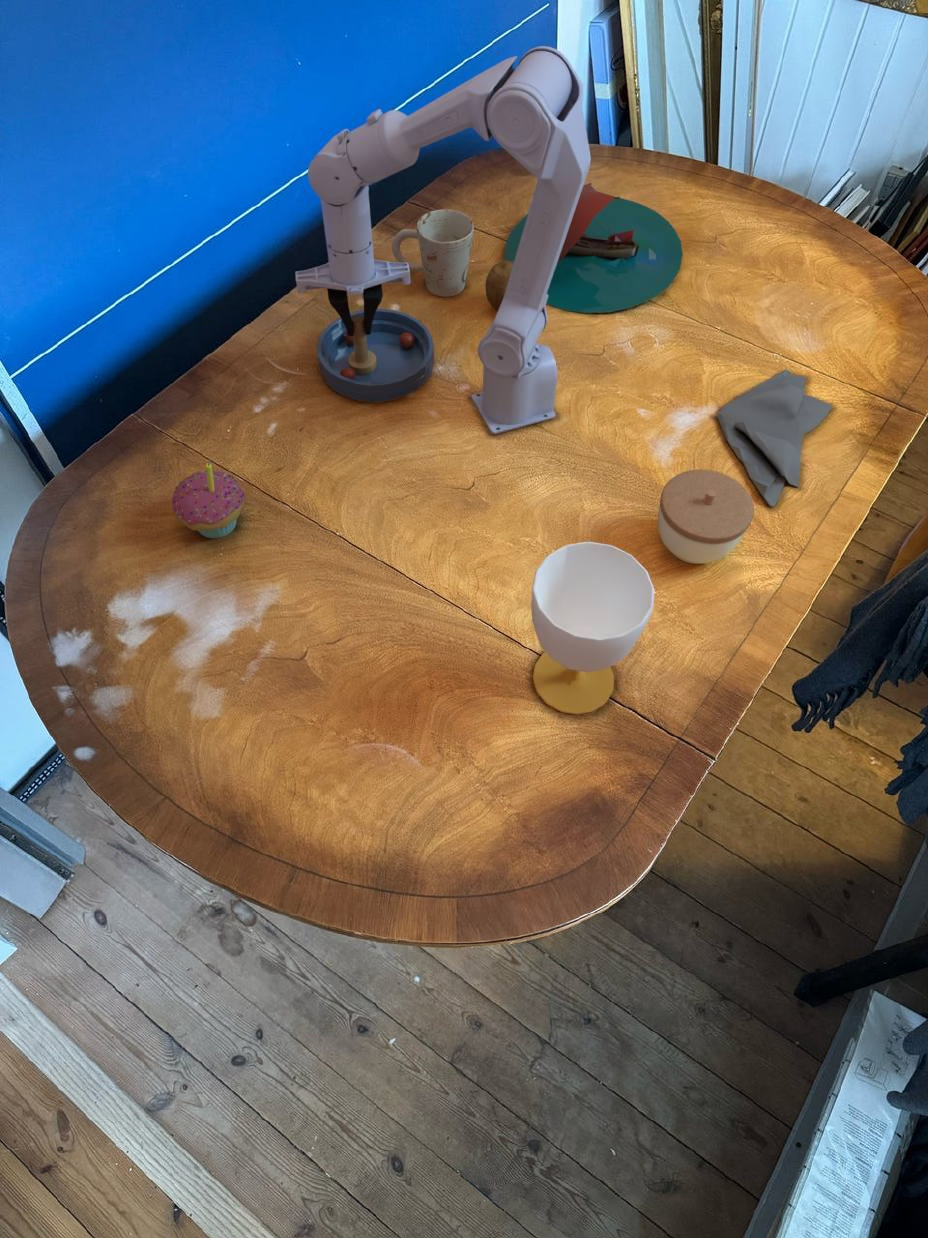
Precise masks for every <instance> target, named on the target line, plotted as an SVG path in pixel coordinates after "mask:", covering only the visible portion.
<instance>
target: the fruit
mask: <svg viewBox="0 0 928 1238" xmlns="http://www.w3.org/2000/svg"><path fill="white" fill-rule="evenodd" d="M513 264H514V262H513V261H505V260H501V261H498V262H496V263H494V265H493V266H492V267H491V269H490V271H489V272H488V274H487V275H486V279H485V297H486V300H487V302H488V303H489V305H490V306H491V308H492V309H493V310H495V311H496V312H498V310H499V308H500V305H501V303H502V301H503V298H504V295H505V292H506V288H507V285H508V281H509V278H510V274H511V271H512V267H513Z"/></svg>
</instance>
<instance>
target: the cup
mask: <svg viewBox="0 0 928 1238" xmlns="http://www.w3.org/2000/svg"><path fill="white" fill-rule="evenodd" d="M655 591H656V589H655V587H654V583H653V581H652V580H651V577H650V574H649V572H648V570H647V569H646V568H645V567H644V566H643V565H642V564H641V563H640V562H639V561H638V559H636V558H635V557H634V556H633V555H632V554H630V553H629V552H627V551H624V550H622V549H620V548H618V547H616V546H615V545H612V544H607V543H601V542H594V541H582V542H577V543H571V544H565V545H563V546H561V547H559V548H558V549H556V550H554V551H552V552H551V553H549V554H547V555H546V556H545V558H544V559H543V560H542V562H541V563H540V564H539V566H537V568H536V569H535V572H534V576H533V582H532V587H531V599H530V601H531V602H530V609H531V621H532V625H533V628H534V631H535V634H536V637H537V640H538V641H537V642H538V643H539V646H540V647H541V649H542V650H543V651H544V652H542V653H541V655H540V657H539V658H538V659H537V661H536V662H535V663H534V668H533V674H532V682H533V684H534V688H535V691H536V693H537V695H538V696H539V697H540V698H541V699H542V700H543V702H544V703H545V705H547V706H549V707H551V708H552V709H554V710H555V711H558V712H560V713H562V714H563V713H564V714H570V715H583V714H588V713H594V712H595V711H596V710H598V709H599V708H601V707H602V706H604V705H605V704H606V703H607V702H608V700H609V698H610V697H611V695H612V694H613V691H614V686H615V685H614V684H615V675H614V673H613V669H612V667H614V666H615V665H616V664H618V663H620V662H621V661H622V660H624V659H625V658H626V657H627V656H628V655H629V654H630V653H631V651H632V650H633V648H634V646H635V645H636V643H637V642H638V640H639V638H640V637H641V635H642V633H643V631H644V630H645V628H646V627H647V625H648V623H649V621H650V618H651V616H652V613H653V611H654V603H655Z"/></svg>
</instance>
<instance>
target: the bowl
mask: <svg viewBox="0 0 928 1238" xmlns="http://www.w3.org/2000/svg"><path fill="white" fill-rule="evenodd" d="M356 314H360V315H362V316H364V309H360V310H357V311H353V312H350V315H351V317H352V316H353V315H356ZM346 332H347V330H346V327H345V325H344V323H343V321H342V319H341V317H340V316H339V317H338V318H337V319H335V320H334V321H332V322H331V323H329V324H328V325H327V326H326V327H325V329H323V331H322V332H321V334H320V335H319V337H318V341H317V343H316V355H317V362H318V368H319V372H320V374H321V378H323V381H324V382H325V384H326V385H328V386H329V388H330V389H331V390H333V391H334V392H336V393H338V394H339V395H342V396H344V397H346V398H349V399H352V400H356V401H360V402H368V403H369V402H370V403H380V402H389V401H393V400H397V399H401V398H405V397H406V396H408V395H411V394H412V393H414V392H416V391H417V390H418V389H420V388H421V387H422V386H423V385H424V384H426V382H427V381H428V379H429V378H430V377H431V375H432V373H433V369H434V365H435V347H434V346H435V345H434V339H433V336H432V334H431V332H430V330H429V329H428V327H427V326H426V325H425V324H424V323H422V322H421V320H419V319H418V318H415V317H413V316H412V315H410V314H408V313H405V312H402V311H398V310H394V309H387V308H377V310H376V312H375V315H374V318H373V322H372V327H371V334H370V335H366V340H367V350H369V351H371V352H373V353H374V354H375V356H376V362H377V366H376V369H375V370H374V371H373V372H371V373H369V374H366V375H358V374H356V379H355V380H352V379H349V378H346V377H343V376H342V375H340V373H341V371H342V370H343V369H344V368H347V367H348V368H349V366H348V357H349V355H350V354H351V353H352V352H354V351H355V350H354V345H350V344H348V343H347V342H346V340H345V334H346ZM405 332H408V333H411V334H412V335H413V337H414V344H413V346H412V347H410V348H403V347H402V346H401V345H400V343H399V338H400V336H401V334H403V333H405Z"/></svg>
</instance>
